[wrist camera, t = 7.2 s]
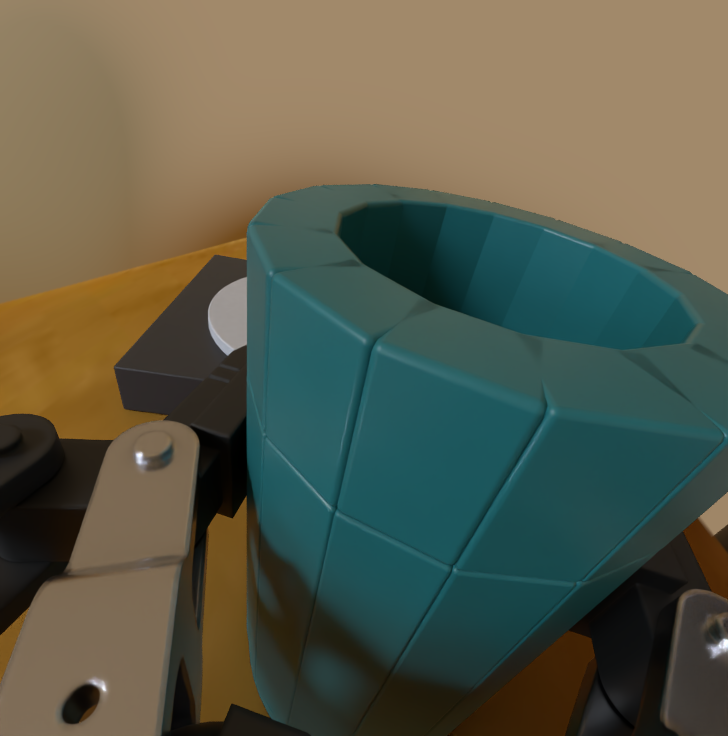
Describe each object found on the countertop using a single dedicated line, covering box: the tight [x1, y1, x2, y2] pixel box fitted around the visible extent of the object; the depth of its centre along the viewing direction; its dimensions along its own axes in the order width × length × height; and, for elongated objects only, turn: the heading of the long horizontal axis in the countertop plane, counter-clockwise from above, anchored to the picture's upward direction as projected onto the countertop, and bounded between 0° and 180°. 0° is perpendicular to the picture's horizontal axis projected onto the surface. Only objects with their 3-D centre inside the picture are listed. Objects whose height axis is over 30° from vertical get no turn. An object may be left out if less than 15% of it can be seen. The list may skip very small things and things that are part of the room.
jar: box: [247, 184, 728, 736], centre depth 8 cm, size 6×6×11 cm
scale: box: [114, 255, 247, 415], centre depth 21 cm, size 14×12×3 cm
